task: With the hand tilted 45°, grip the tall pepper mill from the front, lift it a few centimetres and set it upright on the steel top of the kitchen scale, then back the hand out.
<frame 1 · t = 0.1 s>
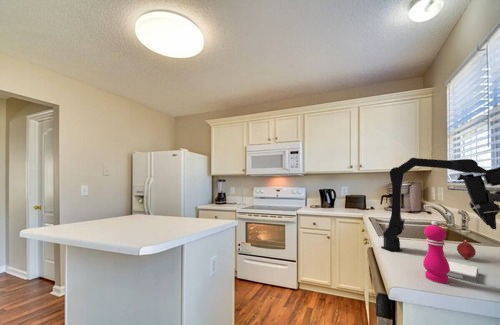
hand: (491, 227, 92), 15 cm above the counter, tool pointing down, fingers open, 9 cm apart
onion: (466, 259, 99), on the counter
kitchen scale: (456, 273, 85), on the counter
pepper mill: (436, 279, 80), on the counter
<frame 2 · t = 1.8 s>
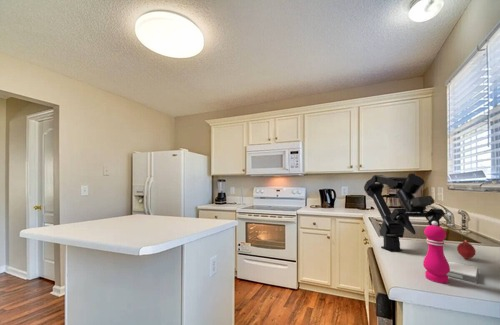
hand: (427, 234, 88), 14 cm above the counter, tool tilted 40°, fingers open, 9 cm apart
nothing on the counter moved.
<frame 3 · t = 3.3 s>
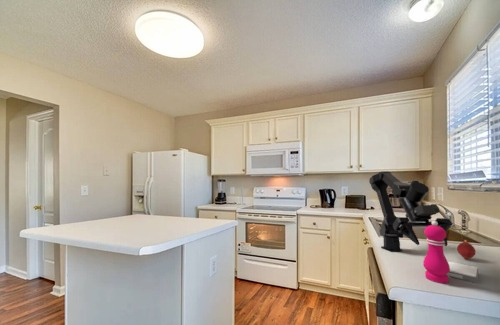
hand: (432, 245, 82), 11 cm above the counter, tool tilted 45°, fingers open, 9 cm apart
nothing on the counter moved.
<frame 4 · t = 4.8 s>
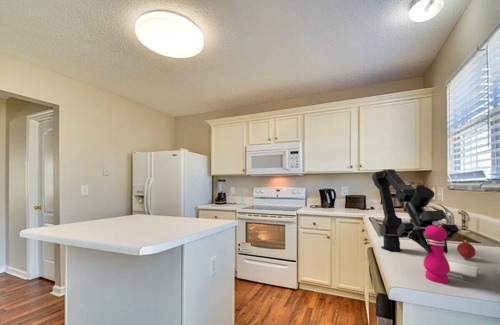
hand: (438, 252, 79), 10 cm above the counter, tool tilted 45°, fingers closed on pepper mill, 5 cm apart
pepper mill: (436, 279, 80), on the counter, touching gripper
everything else where it was.
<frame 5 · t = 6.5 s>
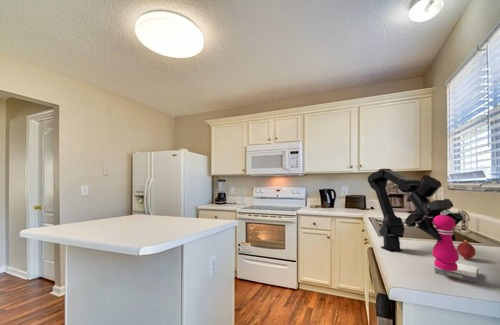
hand: (447, 240, 81), 13 cm above the counter, tool tilted 45°, fingers closed on pepper mill, 5 cm apart
pepper mill: (445, 267, 82), point 3 cm above the counter, touching gripper
everything else where it was.
when the fingers open (12 cm above the counter, at t = 8.4 s): pepper mill stays where it is, resting on kitchen scale.
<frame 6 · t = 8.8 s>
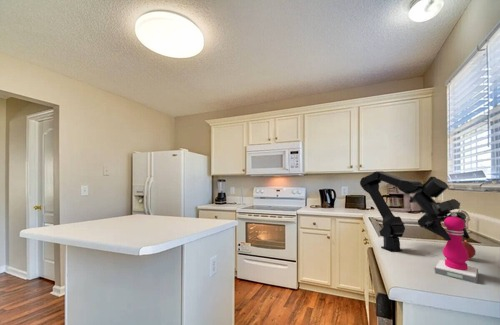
hand: (459, 239, 84), 13 cm above the counter, tool tilted 45°, fingers open, 9 cm apart
pepper mill: (456, 267, 86), point 2 cm above the counter, touching kitchen scale
everything else where it was.
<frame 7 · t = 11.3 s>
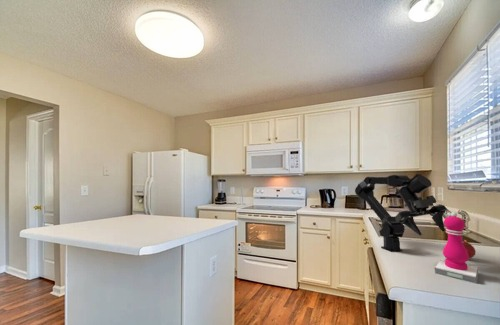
hand: (432, 233, 93), 13 cm above the counter, tool tilted 35°, fingers open, 9 cm apart
nothing on the counter moved.
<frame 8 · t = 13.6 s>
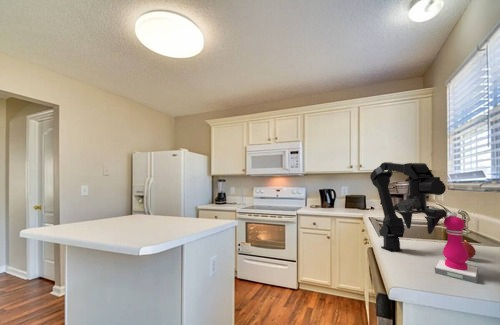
hand: (418, 231, 95), 13 cm above the counter, tool pointing down, fingers open, 9 cm apart
nothing on the counter moved.
at the end: pepper mill inside the target area on the kitchen scale (0.4 cm from its centre), point 2.0 cm above the kitchen scale's base; pepper mill tilted 0°; the gripper is holding nothing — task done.
